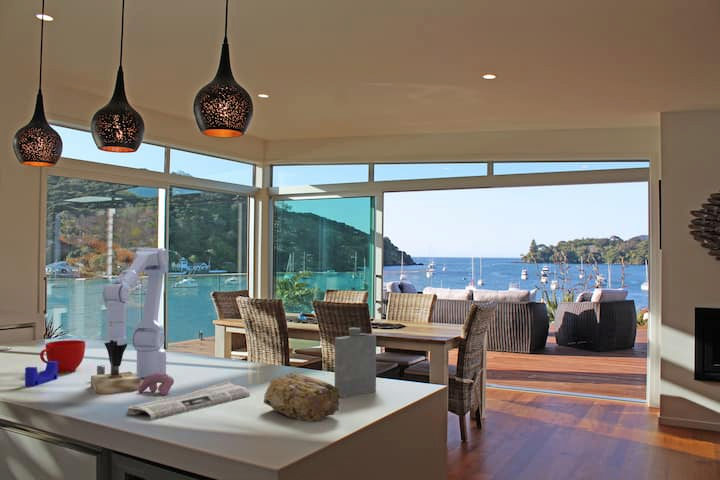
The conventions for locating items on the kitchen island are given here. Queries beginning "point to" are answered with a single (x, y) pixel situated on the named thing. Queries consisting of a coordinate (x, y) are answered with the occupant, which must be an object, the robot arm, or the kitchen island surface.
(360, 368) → the hip flask
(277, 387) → the petrified wood
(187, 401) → the newspaper
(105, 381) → the bore block
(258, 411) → the kitchen island surface
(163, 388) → the pink textured arched piece
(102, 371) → the short pin
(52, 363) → the cable clip
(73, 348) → the ceramic cup
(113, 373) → the long pin
